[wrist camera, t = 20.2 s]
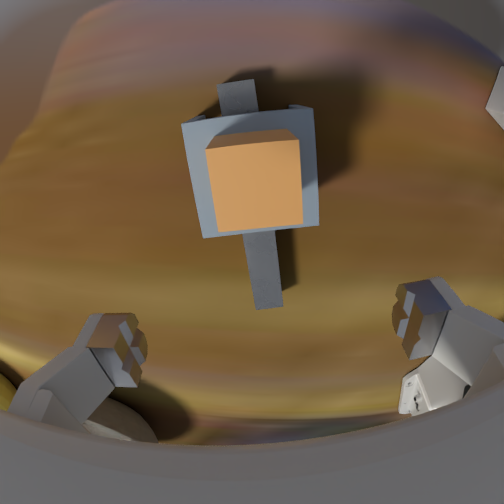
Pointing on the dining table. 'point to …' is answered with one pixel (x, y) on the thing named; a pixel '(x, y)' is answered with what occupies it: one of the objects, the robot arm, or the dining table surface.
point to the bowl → (119, 423)
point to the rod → (261, 243)
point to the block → (255, 179)
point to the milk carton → (497, 99)
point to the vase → (6, 393)
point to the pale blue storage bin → (293, 119)
